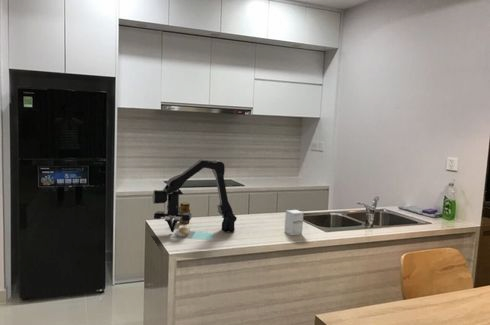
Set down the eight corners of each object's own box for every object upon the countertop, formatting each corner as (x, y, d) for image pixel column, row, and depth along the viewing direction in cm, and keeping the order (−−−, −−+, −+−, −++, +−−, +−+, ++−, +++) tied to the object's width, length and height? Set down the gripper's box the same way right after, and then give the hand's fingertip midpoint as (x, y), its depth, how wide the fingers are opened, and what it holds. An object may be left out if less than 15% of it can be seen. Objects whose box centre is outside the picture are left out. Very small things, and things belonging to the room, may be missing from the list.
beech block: (189, 233, 206) (189, 225, 205) (187, 236, 201) (188, 228, 200) (180, 232, 206) (180, 225, 206) (178, 235, 201) (178, 227, 201)
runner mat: (214, 233, 209) (214, 232, 209) (210, 241, 197) (210, 239, 197) (177, 231, 210) (177, 230, 210) (171, 238, 198) (171, 237, 198)
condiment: (186, 221, 230) (187, 201, 229) (194, 225, 224) (194, 204, 222) (175, 223, 226) (176, 202, 224) (183, 226, 219) (183, 205, 218)
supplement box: (291, 236, 213) (292, 213, 211) (283, 232, 219) (285, 210, 218) (302, 234, 216) (304, 212, 215) (294, 230, 223) (296, 209, 221)
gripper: (194, 200, 209) (193, 228, 211) (159, 198, 210) (159, 226, 212) (189, 205, 198) (189, 234, 200) (153, 202, 199) (153, 232, 201)
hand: (172, 231), depth 204 cm, fingers closed
